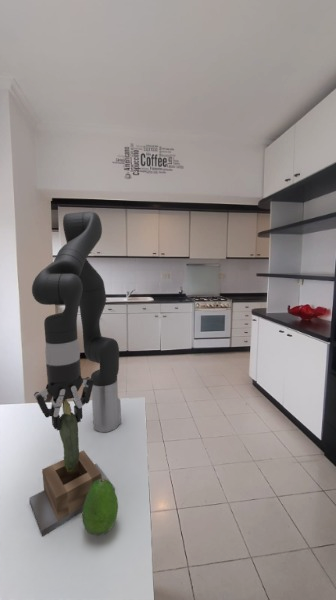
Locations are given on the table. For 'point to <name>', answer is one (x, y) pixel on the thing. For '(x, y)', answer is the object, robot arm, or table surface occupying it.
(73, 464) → the vegetable
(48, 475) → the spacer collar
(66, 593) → the table surface
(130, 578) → the table surface
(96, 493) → the avocado
